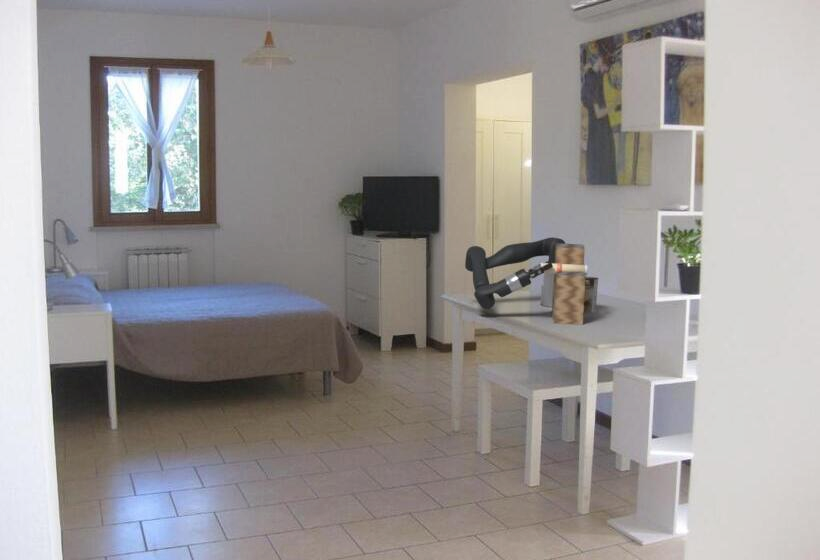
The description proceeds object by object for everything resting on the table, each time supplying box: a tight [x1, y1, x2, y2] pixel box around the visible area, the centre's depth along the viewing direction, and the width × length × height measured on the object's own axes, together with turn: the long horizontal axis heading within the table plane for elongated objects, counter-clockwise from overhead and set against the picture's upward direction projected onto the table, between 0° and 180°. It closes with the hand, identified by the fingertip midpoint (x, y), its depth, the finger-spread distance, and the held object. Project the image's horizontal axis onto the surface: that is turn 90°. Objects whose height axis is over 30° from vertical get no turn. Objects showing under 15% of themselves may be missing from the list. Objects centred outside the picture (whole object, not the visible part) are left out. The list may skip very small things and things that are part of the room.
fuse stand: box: [551, 243, 586, 326], centre depth 389 cm, size 12×20×33 cm, turn 174°
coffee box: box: [583, 275, 599, 313], centre depth 419 cm, size 9×6×16 cm
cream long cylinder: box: [540, 262, 589, 276], centre depth 384 cm, size 20×4×4 cm, turn 84°
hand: (551, 263), depth 384 cm, fingers open, 8 cm apart
